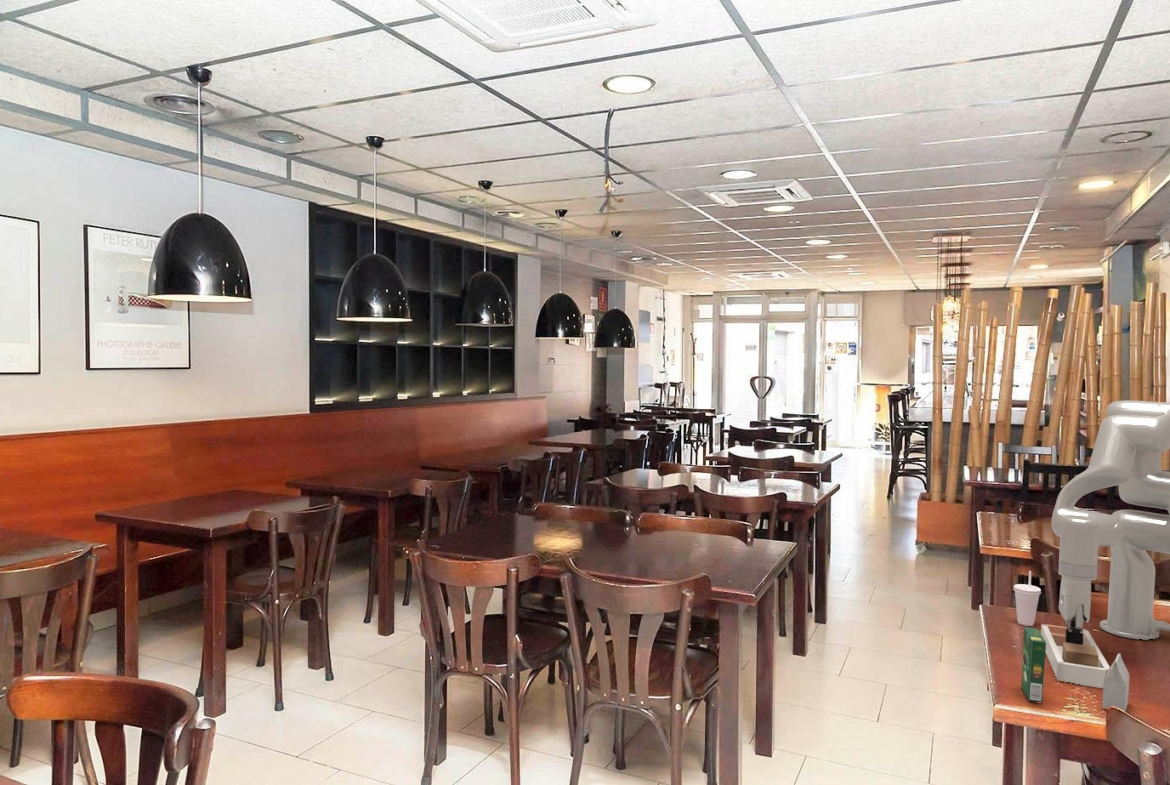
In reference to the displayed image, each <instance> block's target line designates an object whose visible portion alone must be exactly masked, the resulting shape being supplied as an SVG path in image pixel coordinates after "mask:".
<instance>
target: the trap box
mask: <svg viewBox="0 0 1170 785" xmlns="http://www.w3.org/2000/svg"><path fill="white" fill-rule="evenodd" d="M1066 629H1067V626H1061V625H1054V624H1053V625H1052V624H1047V623H1041V624H1040V633H1041V635H1042V636H1043V638H1044V640H1045V641H1046V653H1045V655H1046V656H1047V659H1048V661H1049V664H1050V667H1051V666H1052V667H1051V669H1052V668H1053V669H1052V671H1054V672H1053V674H1054V673H1055V674H1054V676H1056V677H1055V679H1056V678H1057V679H1056V681H1057V680H1060V681H1065V682H1064V683H1066V682H1071V683H1070V684H1072V683H1075V684H1074V685H1078V684H1080V685H1079V686H1085V687H1093V688H1099V689H1103V684H1104V678H1105V676H1106V674H1107V671H1108V669H1109V668H1110V667H1111V666H1110V665H1109V663H1108V662H1107V660H1106V658H1105V656H1104V655H1103V653H1102V651H1101V650H1100V648H1099V646H1098V645H1097V643H1096V642H1095V639H1094V638H1093V637H1092V635H1091V633H1090V631H1089V630H1088V629H1084V628H1083V645H1086V646H1093V647H1095V649H1096V651H1097V653H1098V656H1099V657H1098V667H1093V666H1086V665H1080V664H1073V663H1066V662H1064V661H1063V659H1062V651H1063V642H1065V638H1066ZM1057 645H1058V646H1057ZM1060 681H1059V682H1060Z"/></svg>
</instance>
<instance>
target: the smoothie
mask: <svg viewBox="0 0 1170 785" xmlns="http://www.w3.org/2000/svg"><path fill="white" fill-rule="evenodd" d="M1027 583H1028V584H1025V583H1024V584H1022V583H1019V584H1014V585H1013V591H1014V598H1015V607H1016V608H1015V609H1016V620H1017V624H1019V625H1022V626H1025V627H1028V626H1029V627H1033V626H1034V623H1035V619H1036V614H1037V609H1038V604H1039V598H1040V595H1041V594H1042V592H1041V591H1042V590H1041V588H1040V587H1038V586H1036V585H1032V571H1031V570H1029V571H1028V582H1027Z"/></svg>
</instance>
